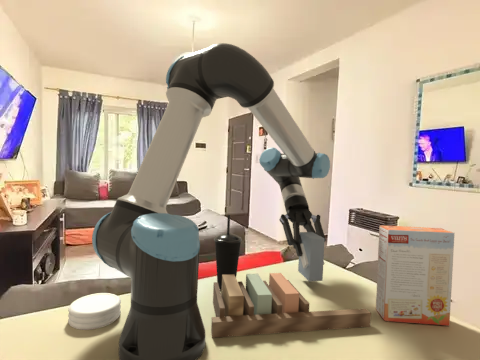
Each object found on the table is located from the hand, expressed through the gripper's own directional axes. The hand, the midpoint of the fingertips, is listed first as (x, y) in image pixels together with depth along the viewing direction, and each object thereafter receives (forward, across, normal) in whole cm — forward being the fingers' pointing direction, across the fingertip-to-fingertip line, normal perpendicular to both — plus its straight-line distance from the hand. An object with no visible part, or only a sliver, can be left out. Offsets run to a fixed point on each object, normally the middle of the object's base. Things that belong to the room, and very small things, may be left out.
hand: (313, 265), depth 82 cm
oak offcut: (+13, +26, +5) cm, 29 cm away
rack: (+14, +14, +5) cm, 20 cm away
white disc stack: (+12, +55, +3) cm, 56 cm away
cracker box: (+18, -15, +9) cm, 25 cm away
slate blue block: (+1, 0, -4) cm, 4 cm away
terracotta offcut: (+13, +14, +5) cm, 20 cm away
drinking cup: (+3, +25, -6) cm, 25 cm away
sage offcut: (+13, +20, +5) cm, 24 cm away
